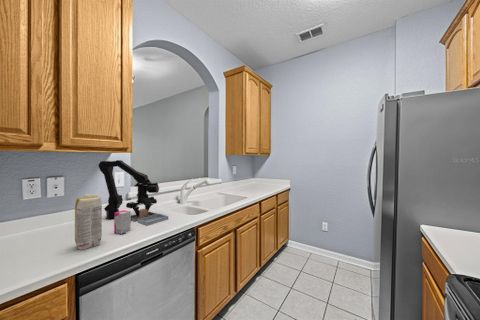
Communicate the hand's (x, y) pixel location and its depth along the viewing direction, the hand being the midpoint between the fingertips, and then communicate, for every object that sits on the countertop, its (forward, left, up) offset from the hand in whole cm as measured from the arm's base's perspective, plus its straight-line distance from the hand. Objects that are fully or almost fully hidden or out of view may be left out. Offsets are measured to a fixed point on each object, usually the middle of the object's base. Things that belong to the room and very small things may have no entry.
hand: (142, 215), depth 131 cm
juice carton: (-37, -19, -2) cm, 42 cm away
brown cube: (0, 0, -1) cm, 1 cm away
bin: (0, 0, -2) cm, 2 cm away
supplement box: (-20, -15, -2) cm, 25 cm away
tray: (0, -13, -2) cm, 13 cm away
